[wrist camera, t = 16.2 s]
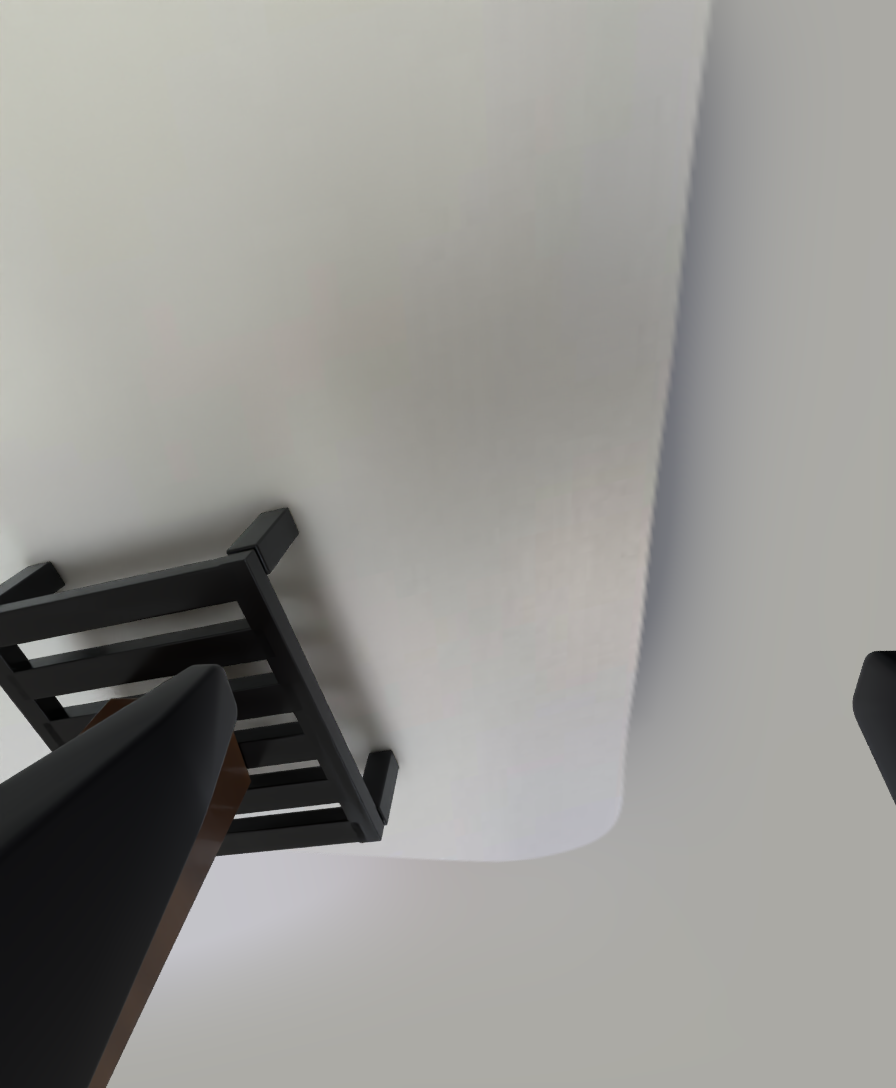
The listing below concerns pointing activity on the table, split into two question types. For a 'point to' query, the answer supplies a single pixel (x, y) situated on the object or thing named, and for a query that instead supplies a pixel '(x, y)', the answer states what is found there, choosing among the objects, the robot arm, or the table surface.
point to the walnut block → (175, 891)
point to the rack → (265, 634)
